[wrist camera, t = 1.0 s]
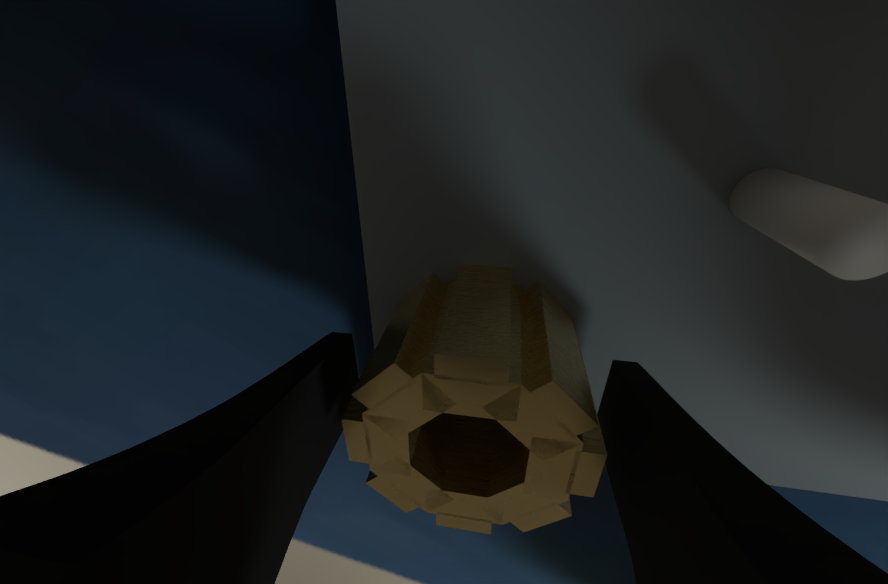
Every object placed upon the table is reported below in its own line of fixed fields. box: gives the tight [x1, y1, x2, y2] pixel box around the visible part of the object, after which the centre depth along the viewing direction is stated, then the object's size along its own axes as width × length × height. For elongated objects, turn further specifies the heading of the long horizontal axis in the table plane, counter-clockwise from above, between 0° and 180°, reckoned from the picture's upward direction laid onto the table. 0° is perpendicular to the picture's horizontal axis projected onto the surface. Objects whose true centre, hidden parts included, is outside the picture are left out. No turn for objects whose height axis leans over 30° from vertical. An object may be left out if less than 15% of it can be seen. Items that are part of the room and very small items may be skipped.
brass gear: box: [342, 264, 607, 534], centre depth 10 cm, size 6×6×4 cm
